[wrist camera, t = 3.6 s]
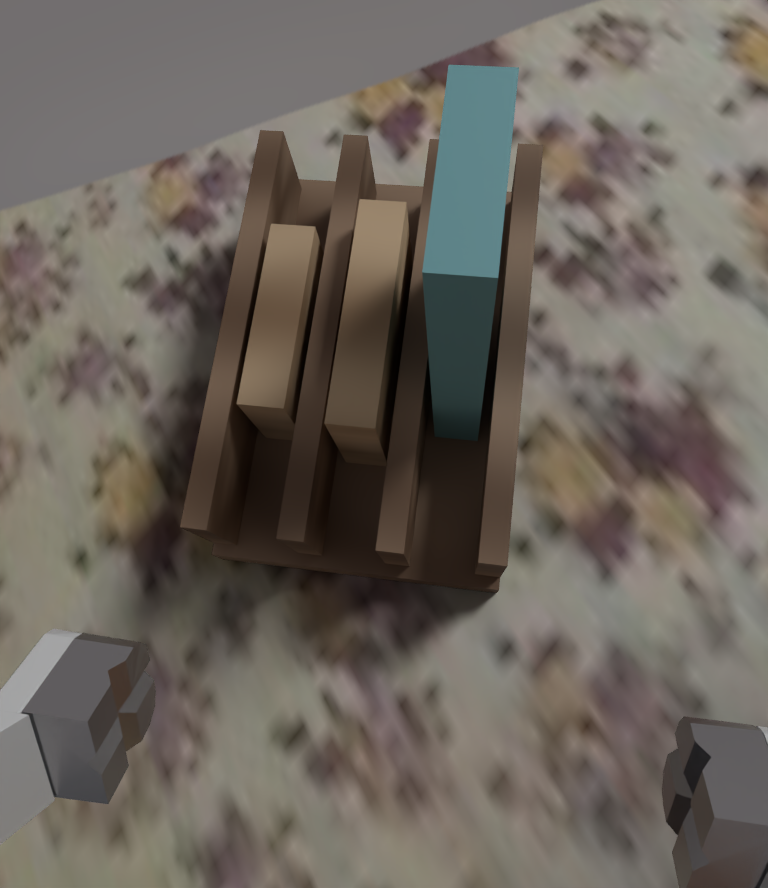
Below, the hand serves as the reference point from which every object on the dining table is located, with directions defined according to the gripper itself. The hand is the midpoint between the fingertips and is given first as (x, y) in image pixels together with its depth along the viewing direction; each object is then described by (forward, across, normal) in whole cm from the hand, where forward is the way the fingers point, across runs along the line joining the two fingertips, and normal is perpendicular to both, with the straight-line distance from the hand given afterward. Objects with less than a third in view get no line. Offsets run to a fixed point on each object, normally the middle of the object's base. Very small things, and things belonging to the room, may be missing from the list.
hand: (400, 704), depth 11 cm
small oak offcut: (+21, +7, +4) cm, 23 cm away
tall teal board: (+21, 0, +4) cm, 22 cm away
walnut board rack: (+23, +4, +5) cm, 23 cm away
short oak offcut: (+21, +4, +4) cm, 22 cm away
